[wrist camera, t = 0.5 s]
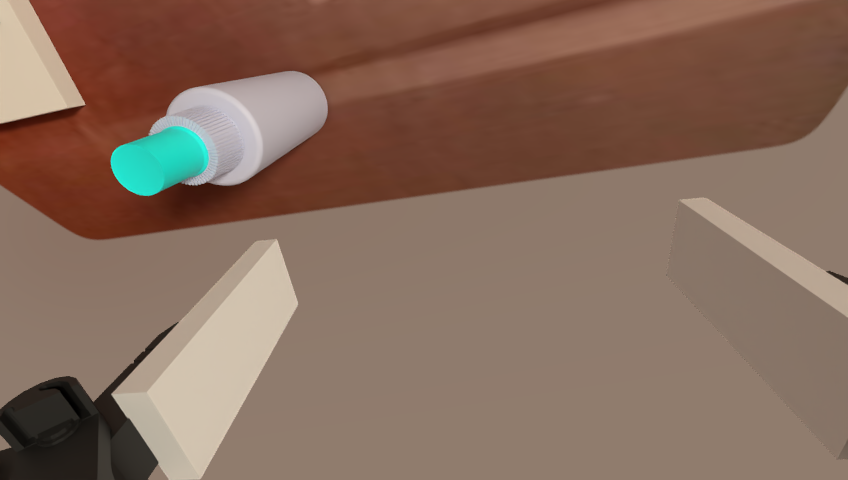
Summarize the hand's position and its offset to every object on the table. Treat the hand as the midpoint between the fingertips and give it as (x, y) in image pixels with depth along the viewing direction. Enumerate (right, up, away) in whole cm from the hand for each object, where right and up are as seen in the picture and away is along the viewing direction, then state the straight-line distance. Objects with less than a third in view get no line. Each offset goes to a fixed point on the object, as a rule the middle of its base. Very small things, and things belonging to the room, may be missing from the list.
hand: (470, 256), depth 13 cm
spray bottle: (-14, +14, +25) cm, 31 cm away
